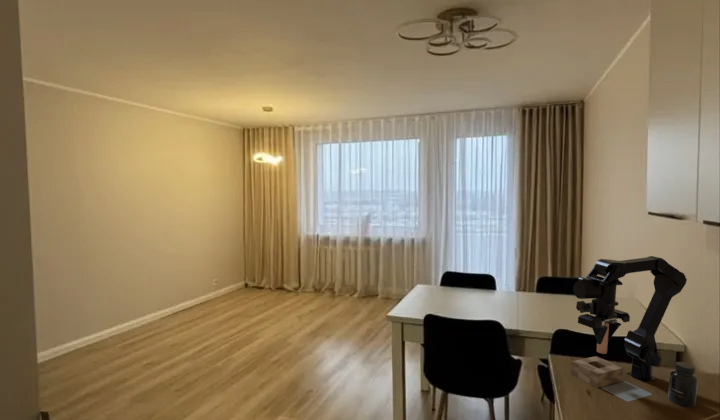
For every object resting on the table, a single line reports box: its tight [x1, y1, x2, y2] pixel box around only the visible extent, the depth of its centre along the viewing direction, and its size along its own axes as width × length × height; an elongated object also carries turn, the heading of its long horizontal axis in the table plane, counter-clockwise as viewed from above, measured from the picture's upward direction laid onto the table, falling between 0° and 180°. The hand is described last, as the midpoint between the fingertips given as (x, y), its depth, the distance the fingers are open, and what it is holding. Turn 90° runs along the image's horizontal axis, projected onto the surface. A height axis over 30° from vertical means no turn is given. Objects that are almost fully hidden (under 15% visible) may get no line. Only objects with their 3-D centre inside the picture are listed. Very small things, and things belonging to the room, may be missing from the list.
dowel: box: [596, 322, 609, 355], centre depth 141 cm, size 3×3×10 cm
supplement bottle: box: [667, 361, 699, 408], centre depth 129 cm, size 7×7×12 cm
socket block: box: [570, 355, 624, 389], centre depth 144 cm, size 12×10×5 cm
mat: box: [601, 381, 653, 402], centre depth 135 cm, size 12×9×1 cm
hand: (602, 343), depth 141 cm, fingers closed on dowel, 3 cm apart
